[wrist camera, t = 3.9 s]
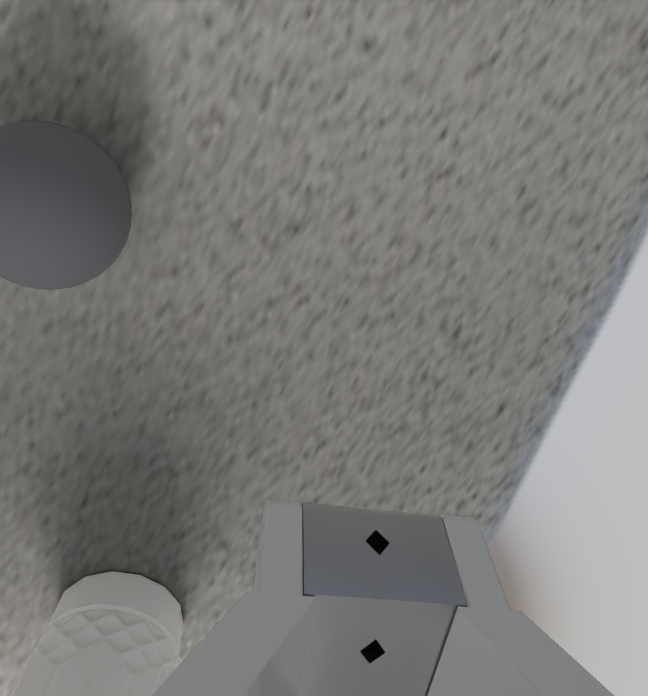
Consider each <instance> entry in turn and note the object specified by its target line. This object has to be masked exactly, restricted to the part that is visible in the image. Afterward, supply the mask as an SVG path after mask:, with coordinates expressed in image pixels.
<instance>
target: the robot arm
mask: <svg viewBox="0 0 648 696" xmlns="http://www.w3.org/2000/svg"><path fill="white" fill-rule="evenodd" d="M151 696H614V695H613V694H612V693H611V692H610V691H608V690H607V689H606V688H605V687H604V686H603V685H602V684H601V683H600V682H599V681H597V680H596V679H595V678H594V677H593V676H592V675H591V674H590V673H589V672H587V670H585V669H584V668H583V667H582V666H581V665H580V664H579V663H578V662H577V661H575V660H574V659H573V658H572V657H571V656H570V655H569V654H568V653H567V652H566V651H565V650H563V649H562V648H561V647H560V646H559V645H558V644H557V643H555V641H553V640H552V639H551V638H550V637H549V636H548V635H547V634H546V633H545V632H544V631H542V630H541V629H540V628H539V627H538V626H537V625H536V624H535V623H534V622H533V621H531V620H530V619H529V618H528V617H527V616H526V615H525V614H524V613H523V612H521V611H511V610H510V607H509V605H508V602H507V600H506V597H505V594H504V591H503V589H502V586H501V583H500V581H499V578H498V575H497V573H496V570H495V567H494V565H493V562H492V559H491V557H490V554H489V551H488V549H487V546H486V543H485V541H484V538H483V535H482V533H481V530H480V527H479V525H478V522H477V521H476V520H475V519H474V518H473V517H471V516H456V515H441V514H438V515H432V514H419V513H406V512H393V511H381V510H369V509H359V508H350V507H341V506H332V505H323V504H314V503H304V502H302V504H300V503H299V502H289V501H280V500H271V499H266V500H265V504H264V511H263V519H262V527H261V534H260V542H259V550H258V558H257V566H256V574H255V583H254V591H253V592H246V593H245V594H244V595H243V596H242V597H241V598H240V599H239V600H238V601H237V603H236V604H235V605H234V606H233V607H232V608H231V609H230V610H229V611H228V612H227V613H226V615H225V616H224V617H223V618H222V619H221V620H220V621H219V622H218V623H217V624H216V625H215V627H214V628H213V629H212V630H211V631H210V632H209V633H208V634H207V635H206V636H205V637H204V639H203V640H202V641H201V642H200V643H199V644H198V645H197V646H196V647H195V648H194V649H193V651H192V652H191V653H190V654H189V655H188V656H187V657H186V658H185V659H184V660H183V661H182V663H181V664H180V665H179V666H178V667H177V668H176V669H175V670H174V671H173V672H172V673H171V675H170V676H169V677H168V678H167V679H166V680H165V681H164V682H163V683H162V684H161V685H160V687H159V688H158V689H157V690H156V691H155V692H154V693H153V694H152V695H151Z"/></svg>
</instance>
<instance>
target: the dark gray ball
mask: <svg viewBox="0 0 648 696" xmlns="http://www.w3.org/2000/svg"><path fill="white" fill-rule="evenodd" d="M131 217H132V210H131V200H130V195H129V191H128V188H127V185H126V183H125V180H124V178H123V176H122V174H121V172H120V170H119V169H118V167H117V165H116V164H115V163H114V161H113V160H112V159H111V157H110V156H109V155H108V154H107V153H106V152H105V151H104V150H103V149H102V148H101V147H100V146H99V145H97V144H96V143H95V142H94V141H92V140H91V139H90V138H88V137H87V136H85V135H83V134H81V133H80V132H78V131H76V130H74V129H71V128H68V127H66V126H63V125H59V124H55V123H51V122H44V121H22V122H16V123H10V124H7V125H4V126H1V127H0V276H1V277H2V278H4V279H6V280H9V281H11V282H13V283H16V284H19V285H22V286H27V287H31V288H36V289H62V288H68V287H73V286H76V285H80V284H82V283H84V282H86V281H89V280H91V279H93V278H95V277H96V276H98V275H99V274H101V273H102V272H103V271H104V270H105V269H107V268H108V267H109V266H110V265H111V264H112V263H113V262H114V261H115V259H116V258H117V257H118V255H119V254H120V252H121V250H122V249H123V247H124V245H125V243H126V240H127V238H128V234H129V231H130V226H131Z"/></svg>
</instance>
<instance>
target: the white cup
mask: <svg viewBox="0 0 648 696" xmlns="http://www.w3.org/2000/svg"><path fill="white" fill-rule="evenodd" d="M182 631H183V619H182V612H181V606H180V604H179V602H178V601H177V600H176V599H175V598H174V597H173V596H172V594H171V593H170V592H169V591H168V590H167V589H166V587H164V586H162V585H160V584H158V583H156V582H154V581H152V580H150V579H148V578H146V577H144V576H142V575H137V574H130V573H122V572H114V571H111V572H106V573H100V574H95V575H90V576H86V577H84V578H82V579H81V580H79V581H78V582H76V583H75V584H73V585H72V586H71V587H69V588H68V589H66V590H65V591H64V593H63V595H62V597H61V599H60V601H59V603H58V605H57V607H56V610H55V612H54V614H53V616H52V618H51V620H50V622H49V624H48V626H47V627H46V629H45V631H44V634H43V635H42V636H41V638H40V639H39V640H38V641H37V642H36V645H35V647H34V649H33V651H32V653H31V654H30V656H29V658H28V660H27V662H26V663H25V665H24V667H23V669H22V672H21V674H20V676H19V678H18V680H17V682H16V683H15V685H14V687H13V688H12V690H11V692H10V694H9V696H151V695H152V694H153V693H154V692H155V691H156V690H157V689H158V688H159V687H160V685H161V684H162V683H163V682H164V681H165V680H166V679H167V678H168V677H169V676H170V675H171V673H172V672H173V671H174V670H175V669H176V668H177V667H178V656H179V651H180V644H181V638H182Z"/></svg>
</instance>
